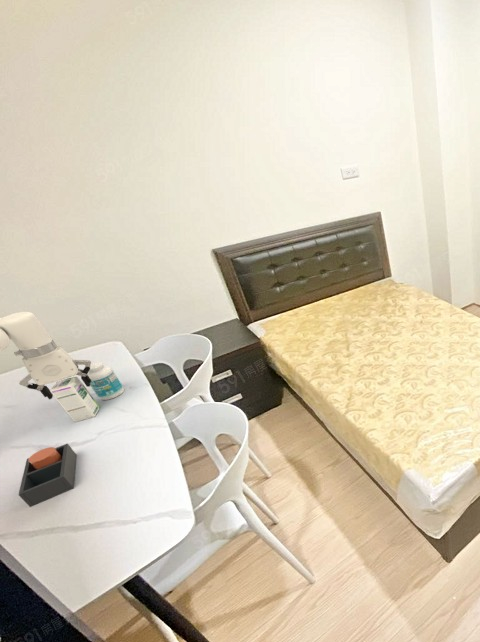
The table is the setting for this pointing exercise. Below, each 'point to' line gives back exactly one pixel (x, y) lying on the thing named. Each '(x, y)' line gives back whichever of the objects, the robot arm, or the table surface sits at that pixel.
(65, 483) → the holder
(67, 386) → the syrup box
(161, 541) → the table surface
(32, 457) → the orange faceted barrel
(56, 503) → the table surface
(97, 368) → the pill bottle
